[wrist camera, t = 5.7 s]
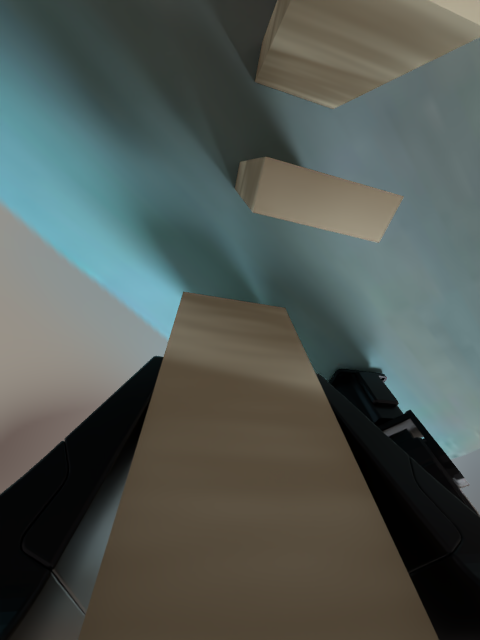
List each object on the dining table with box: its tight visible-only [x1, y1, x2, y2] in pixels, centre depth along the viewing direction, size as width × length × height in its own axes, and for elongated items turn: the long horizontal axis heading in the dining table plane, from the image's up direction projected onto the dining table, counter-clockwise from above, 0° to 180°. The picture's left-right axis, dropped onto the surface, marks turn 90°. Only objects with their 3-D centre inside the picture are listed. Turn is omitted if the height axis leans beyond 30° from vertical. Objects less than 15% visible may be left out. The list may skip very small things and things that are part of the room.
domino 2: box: [235, 157, 404, 243], centre depth 12 cm, size 2×5×10 cm, turn 77°
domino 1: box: [255, 0, 480, 109], centre depth 9 cm, size 2×5×10 cm, turn 77°
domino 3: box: [78, 292, 439, 640], centre depth 7 cm, size 2×5×10 cm, turn 78°
